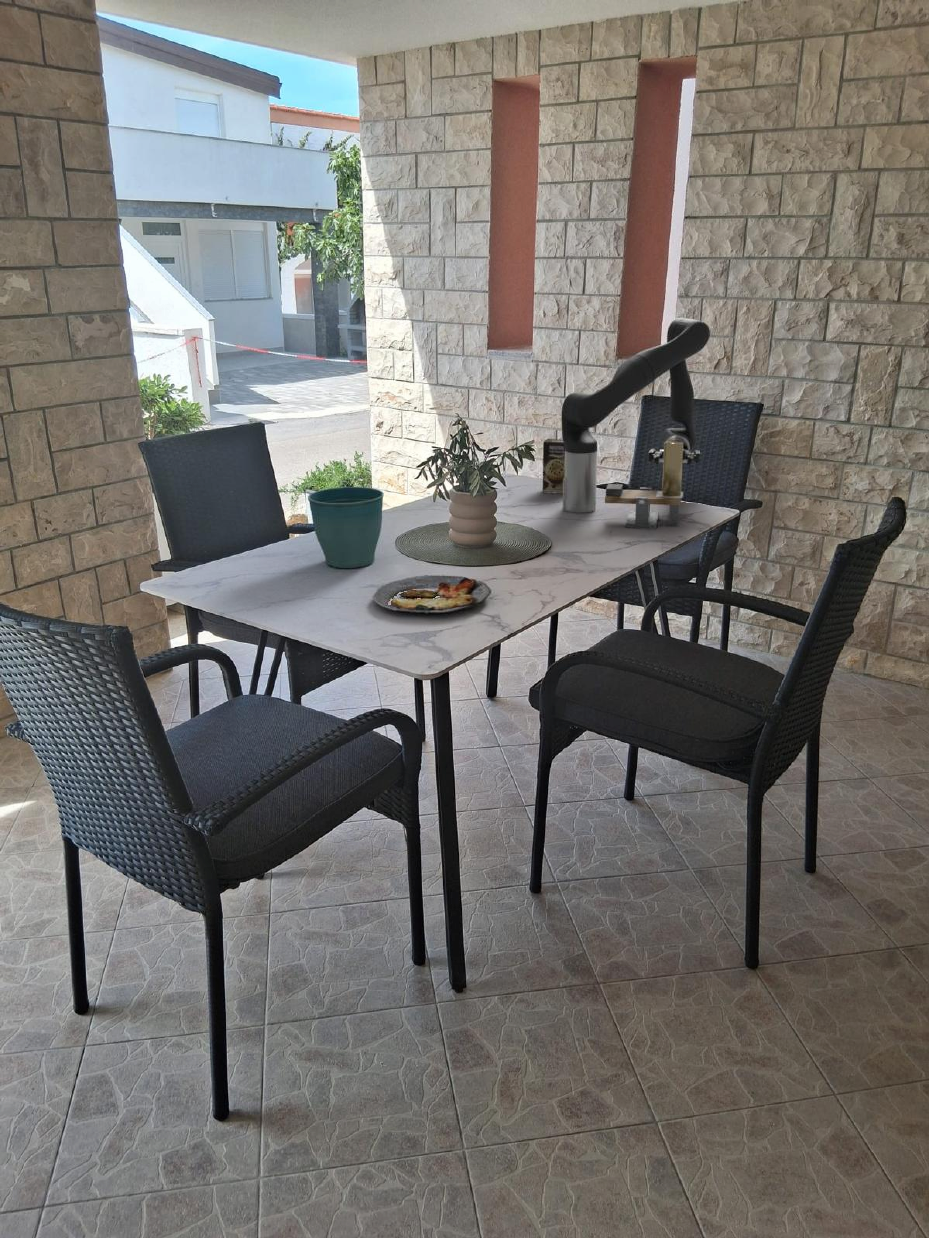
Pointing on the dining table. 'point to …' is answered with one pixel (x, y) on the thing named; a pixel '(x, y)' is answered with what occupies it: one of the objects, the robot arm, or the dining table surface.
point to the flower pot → (347, 524)
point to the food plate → (433, 594)
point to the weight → (672, 468)
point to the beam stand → (649, 514)
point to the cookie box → (553, 465)
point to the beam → (629, 496)
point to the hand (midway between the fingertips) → (672, 460)
